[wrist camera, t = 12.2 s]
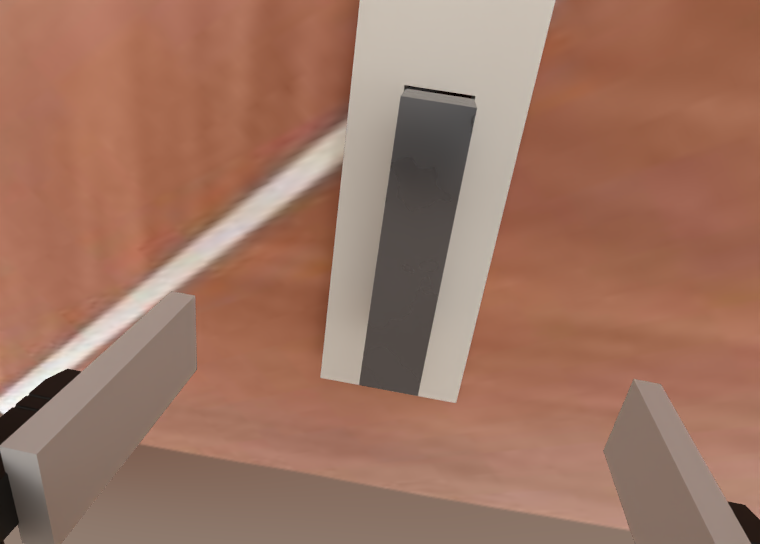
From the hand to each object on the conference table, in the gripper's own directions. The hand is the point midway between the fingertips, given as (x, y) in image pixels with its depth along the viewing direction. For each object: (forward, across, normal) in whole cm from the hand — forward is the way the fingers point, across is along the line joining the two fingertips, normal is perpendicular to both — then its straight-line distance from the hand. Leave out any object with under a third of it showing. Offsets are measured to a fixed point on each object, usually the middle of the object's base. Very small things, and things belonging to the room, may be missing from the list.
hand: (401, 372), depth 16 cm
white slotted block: (+18, -1, 0) cm, 18 cm away
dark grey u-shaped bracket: (+18, -1, 0) cm, 18 cm away
